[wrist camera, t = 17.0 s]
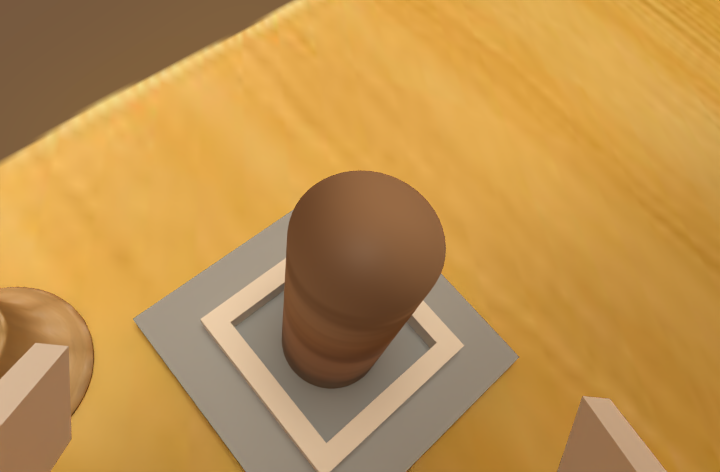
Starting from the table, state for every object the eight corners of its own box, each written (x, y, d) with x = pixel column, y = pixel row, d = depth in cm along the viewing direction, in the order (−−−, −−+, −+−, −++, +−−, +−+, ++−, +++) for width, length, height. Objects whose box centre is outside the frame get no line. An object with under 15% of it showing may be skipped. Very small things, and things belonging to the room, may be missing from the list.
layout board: (345, 181, 33) (349, 162, 31) (511, 361, 30) (528, 352, 28) (137, 324, 28) (126, 311, 26) (312, 561, 24) (316, 567, 22)
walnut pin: (335, 273, 29) (371, 145, 19) (399, 343, 28) (477, 249, 17) (261, 333, 27) (253, 228, 17) (326, 410, 26) (364, 351, 15)
